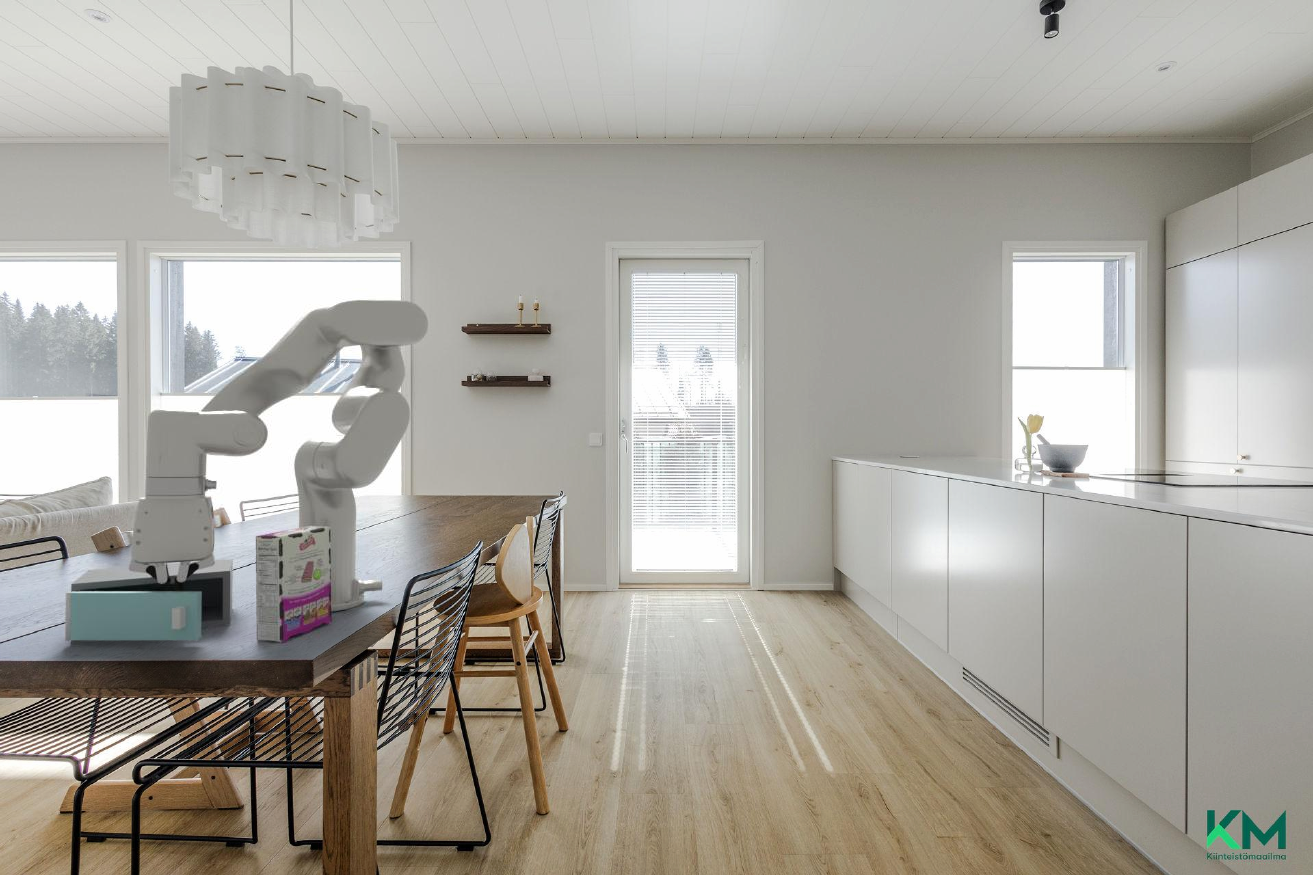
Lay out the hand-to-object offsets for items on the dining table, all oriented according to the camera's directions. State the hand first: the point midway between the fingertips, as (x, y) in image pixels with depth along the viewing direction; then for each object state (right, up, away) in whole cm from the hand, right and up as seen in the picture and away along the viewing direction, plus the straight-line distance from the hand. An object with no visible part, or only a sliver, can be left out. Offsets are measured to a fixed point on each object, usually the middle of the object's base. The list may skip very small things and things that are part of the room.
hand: (171, 606), depth 100 cm
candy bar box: (+17, -5, +4) cm, 18 cm away
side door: (-3, -4, -4) cm, 6 cm away
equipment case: (-8, -5, +8) cm, 12 cm away
